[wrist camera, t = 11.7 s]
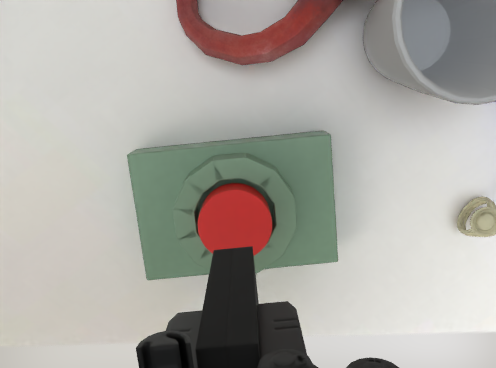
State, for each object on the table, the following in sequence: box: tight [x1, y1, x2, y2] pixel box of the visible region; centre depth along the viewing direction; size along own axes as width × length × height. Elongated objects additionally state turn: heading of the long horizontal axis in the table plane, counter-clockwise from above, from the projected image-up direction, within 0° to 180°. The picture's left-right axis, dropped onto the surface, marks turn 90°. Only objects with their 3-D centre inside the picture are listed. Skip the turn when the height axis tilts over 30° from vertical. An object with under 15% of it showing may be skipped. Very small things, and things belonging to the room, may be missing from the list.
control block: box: [127, 131, 338, 280], centre depth 27 cm, size 12×8×4 cm, turn 96°
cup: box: [363, 0, 496, 105], centre depth 22 cm, size 8×10×8 cm
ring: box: [457, 197, 496, 237], centre depth 28 cm, size 3×2×3 cm
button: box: [198, 183, 272, 255], centre depth 25 cm, size 4×4×2 cm
